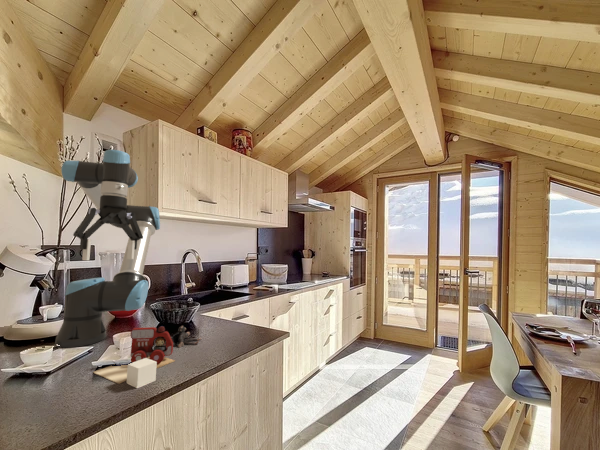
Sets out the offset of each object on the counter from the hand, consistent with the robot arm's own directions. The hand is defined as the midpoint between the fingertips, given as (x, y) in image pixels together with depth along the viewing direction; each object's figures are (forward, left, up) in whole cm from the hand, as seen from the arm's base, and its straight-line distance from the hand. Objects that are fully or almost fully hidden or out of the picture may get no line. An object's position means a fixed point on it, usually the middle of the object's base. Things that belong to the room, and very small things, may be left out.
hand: (109, 259), depth 91 cm
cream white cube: (+25, -3, -32) cm, 41 cm away
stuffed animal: (+8, +24, -32) cm, 41 cm away
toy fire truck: (+15, +6, -32) cm, 36 cm away
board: (+15, +2, -32) cm, 35 cm away
